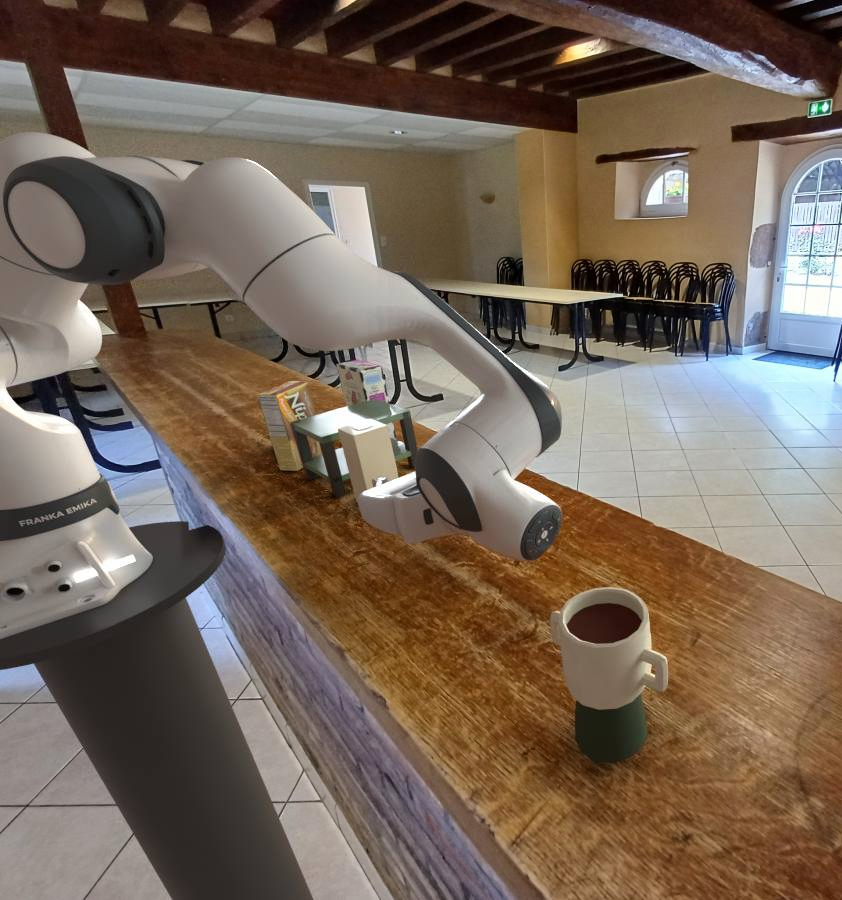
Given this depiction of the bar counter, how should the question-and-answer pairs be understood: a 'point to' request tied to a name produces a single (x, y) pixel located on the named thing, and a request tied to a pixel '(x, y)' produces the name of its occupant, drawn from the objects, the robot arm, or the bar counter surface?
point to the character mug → (608, 669)
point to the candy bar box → (363, 384)
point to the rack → (326, 432)
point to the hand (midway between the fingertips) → (407, 470)
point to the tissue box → (367, 453)
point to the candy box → (288, 421)
